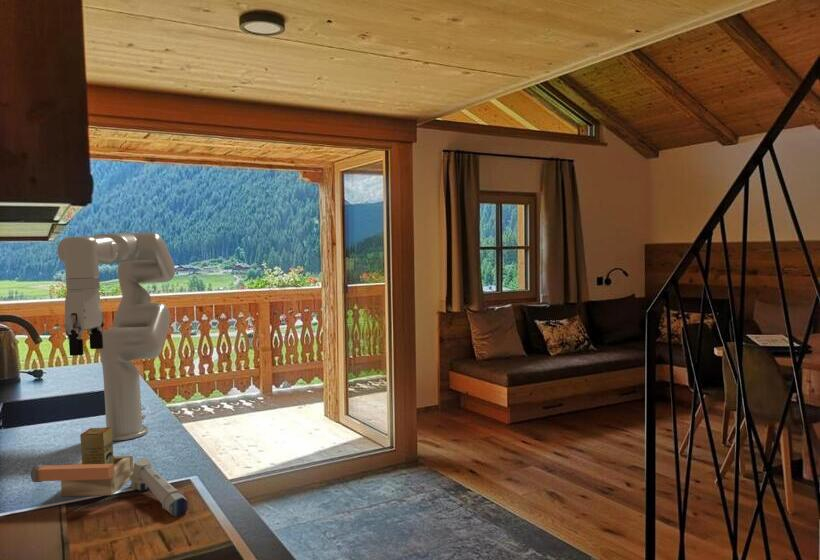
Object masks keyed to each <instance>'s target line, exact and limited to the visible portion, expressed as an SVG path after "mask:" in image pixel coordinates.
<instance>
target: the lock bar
mask: <svg viewBox="0 0 820 560" xmlns="http://www.w3.org/2000/svg"><path fill="white" fill-rule="evenodd" d="M112 476H114V464H80V465H75V464H53V465H50V464H49V465H47V464H46V465H45V464H36V465H34V466H33V467H32V469H31V473H30V478H31V481H32V482H33V483H42V482H57V481H60V482H61V481H63V480H97V479H110V478H111V477H112Z"/></svg>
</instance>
